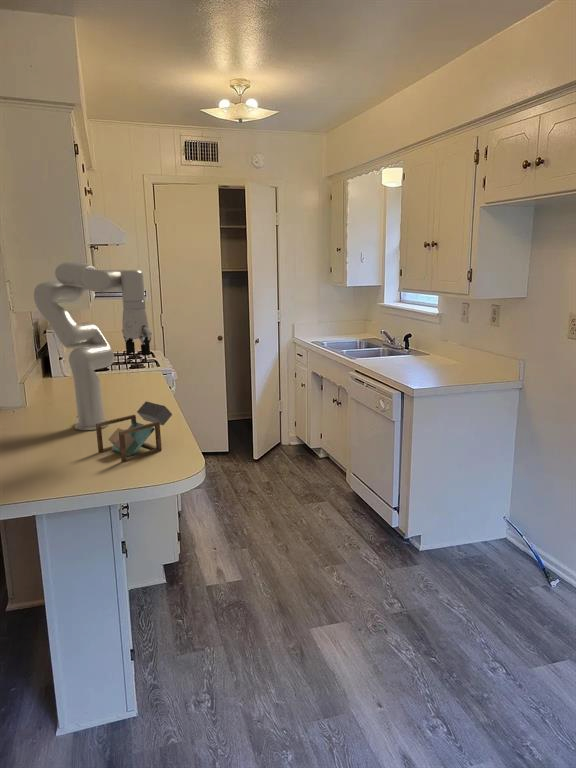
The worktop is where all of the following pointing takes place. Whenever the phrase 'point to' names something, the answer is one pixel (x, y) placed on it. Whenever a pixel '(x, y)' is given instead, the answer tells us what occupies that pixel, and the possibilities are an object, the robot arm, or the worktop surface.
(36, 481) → the worktop surface
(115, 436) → the pinkish beige cube
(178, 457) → the worktop surface
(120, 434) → the frame
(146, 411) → the chair seat and backrest
